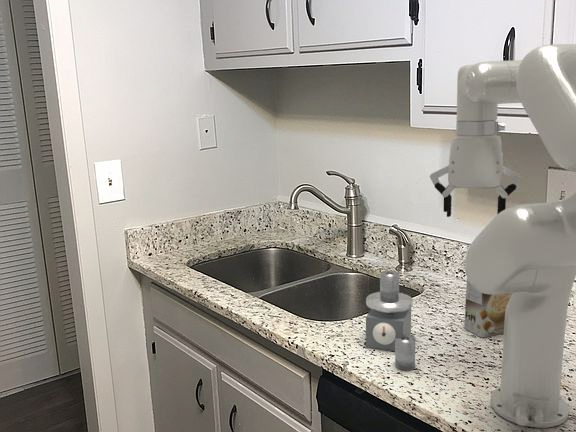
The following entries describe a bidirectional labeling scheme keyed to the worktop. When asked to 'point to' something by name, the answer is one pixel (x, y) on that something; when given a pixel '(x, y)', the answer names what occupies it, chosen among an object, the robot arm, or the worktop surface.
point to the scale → (386, 328)
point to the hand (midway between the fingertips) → (473, 216)
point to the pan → (378, 305)
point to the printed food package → (485, 312)
